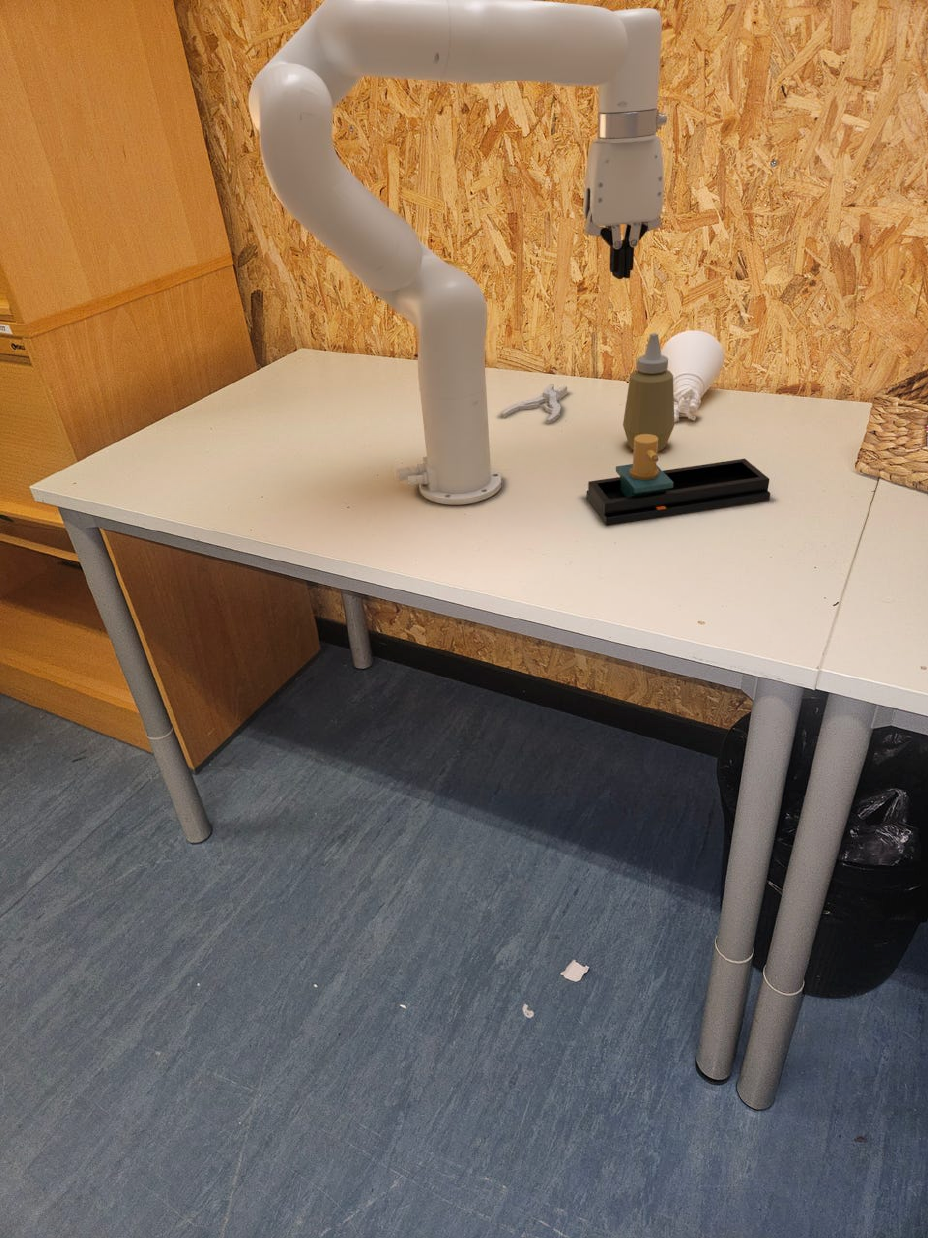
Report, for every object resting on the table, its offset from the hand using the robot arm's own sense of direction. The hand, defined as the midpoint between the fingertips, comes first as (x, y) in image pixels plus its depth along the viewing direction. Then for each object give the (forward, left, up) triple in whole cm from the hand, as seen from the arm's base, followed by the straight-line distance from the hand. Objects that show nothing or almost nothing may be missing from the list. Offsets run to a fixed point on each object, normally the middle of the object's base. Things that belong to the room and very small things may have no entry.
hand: (621, 276), depth 116 cm
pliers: (-5, +25, -27) cm, 37 cm away
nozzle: (-2, -18, -26) cm, 31 cm away
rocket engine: (+18, +17, -27) cm, 37 cm away
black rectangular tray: (+3, -18, -27) cm, 33 cm away
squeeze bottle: (+6, +1, -27) cm, 28 cm away
